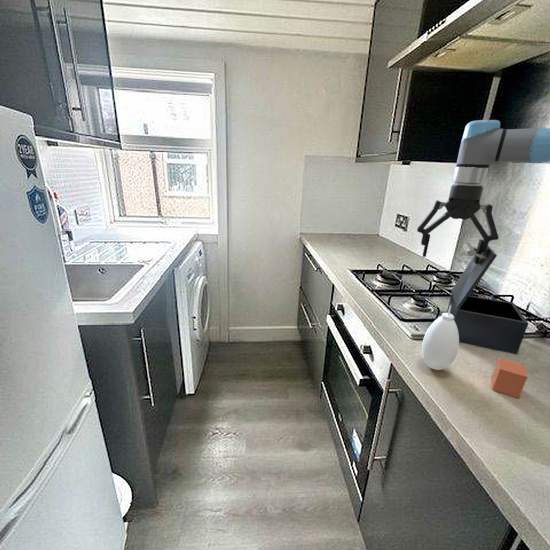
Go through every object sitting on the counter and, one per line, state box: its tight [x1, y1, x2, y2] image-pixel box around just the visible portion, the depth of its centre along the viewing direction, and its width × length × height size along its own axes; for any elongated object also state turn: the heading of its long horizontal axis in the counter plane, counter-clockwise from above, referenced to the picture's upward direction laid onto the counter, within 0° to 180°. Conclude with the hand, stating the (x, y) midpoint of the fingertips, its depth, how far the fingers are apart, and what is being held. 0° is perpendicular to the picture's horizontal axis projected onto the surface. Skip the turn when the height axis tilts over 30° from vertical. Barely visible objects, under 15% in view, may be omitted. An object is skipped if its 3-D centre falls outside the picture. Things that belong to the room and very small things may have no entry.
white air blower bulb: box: [421, 305, 460, 371], centre depth 74 cm, size 8×8×18 cm
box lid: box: [451, 242, 498, 309], centre depth 89 cm, size 18×14×6 cm
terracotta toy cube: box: [490, 357, 528, 399], centre depth 70 cm, size 5×5×6 cm
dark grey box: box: [446, 294, 529, 355], centre depth 91 cm, size 17×14×10 cm
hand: (449, 259), depth 89 cm, fingers open, 13 cm apart
